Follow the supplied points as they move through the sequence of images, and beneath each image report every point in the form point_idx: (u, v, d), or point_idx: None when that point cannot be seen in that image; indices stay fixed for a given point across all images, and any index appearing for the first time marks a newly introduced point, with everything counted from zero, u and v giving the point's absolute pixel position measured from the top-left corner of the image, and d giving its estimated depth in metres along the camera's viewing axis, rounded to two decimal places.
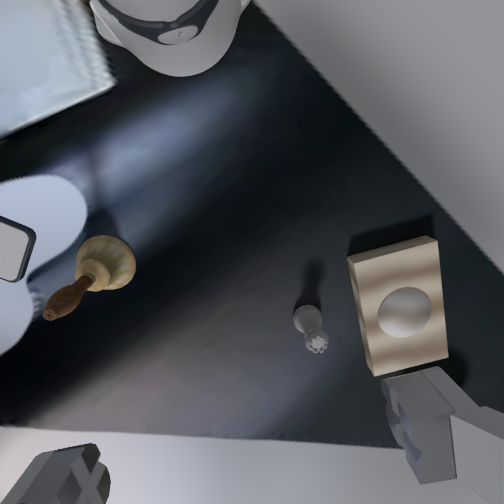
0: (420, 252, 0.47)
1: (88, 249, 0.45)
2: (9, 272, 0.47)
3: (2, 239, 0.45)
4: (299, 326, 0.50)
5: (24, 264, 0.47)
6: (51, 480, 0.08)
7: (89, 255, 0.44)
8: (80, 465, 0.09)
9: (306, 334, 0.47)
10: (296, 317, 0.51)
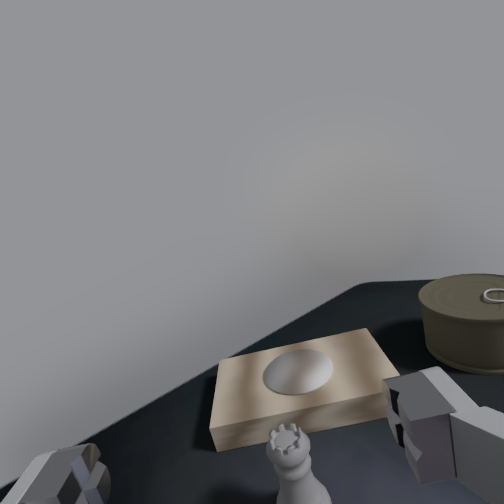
0: (226, 369, 0.42)
1: None
2: None
3: None
4: None
5: None
6: (51, 480, 0.08)
7: None
8: (80, 465, 0.09)
9: (284, 475, 0.23)
10: None
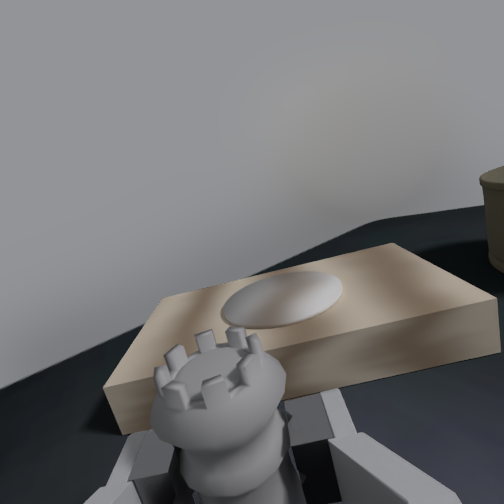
0: (167, 307, 0.26)
1: None
2: None
3: None
4: None
5: None
6: (155, 458, 0.08)
7: None
8: None
9: (202, 478, 0.07)
10: None
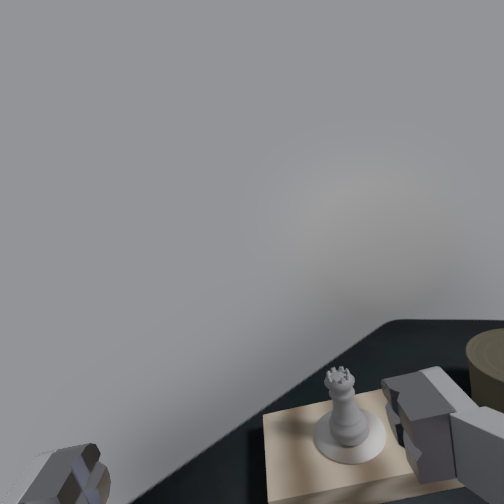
0: (272, 427, 0.42)
1: None
2: None
3: None
4: (349, 425, 0.36)
5: None
6: (51, 480, 0.08)
7: None
8: (80, 465, 0.09)
9: (338, 398, 0.36)
10: (341, 434, 0.36)
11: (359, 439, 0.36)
